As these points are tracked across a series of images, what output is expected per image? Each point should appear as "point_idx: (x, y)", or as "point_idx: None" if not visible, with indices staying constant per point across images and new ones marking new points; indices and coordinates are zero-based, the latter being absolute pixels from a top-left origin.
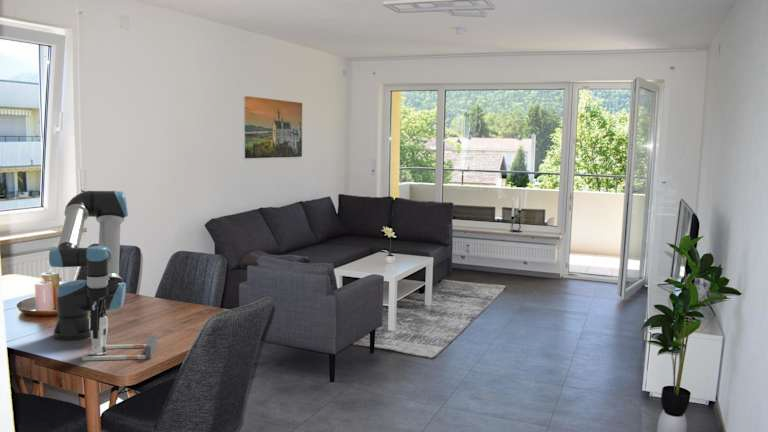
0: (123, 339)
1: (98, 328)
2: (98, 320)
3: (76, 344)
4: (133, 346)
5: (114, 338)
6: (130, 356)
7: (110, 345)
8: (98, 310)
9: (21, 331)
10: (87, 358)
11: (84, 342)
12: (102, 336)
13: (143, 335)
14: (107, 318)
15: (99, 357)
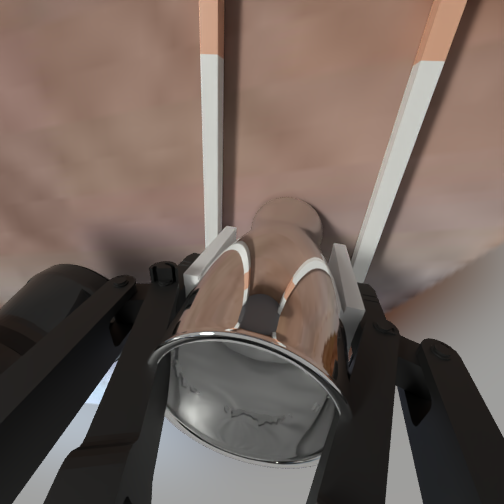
0: (99, 143)
1: (394, 334)
2: (390, 409)
3: None
4: (220, 54)
5: (94, 185)
6: (456, 25)
7: (213, 191)
8: (150, 462)
9: (91, 393)
10: (365, 271)
11: (150, 282)
12: (323, 255)
13: (22, 36)
14: (243, 302)
15: (383, 225)
